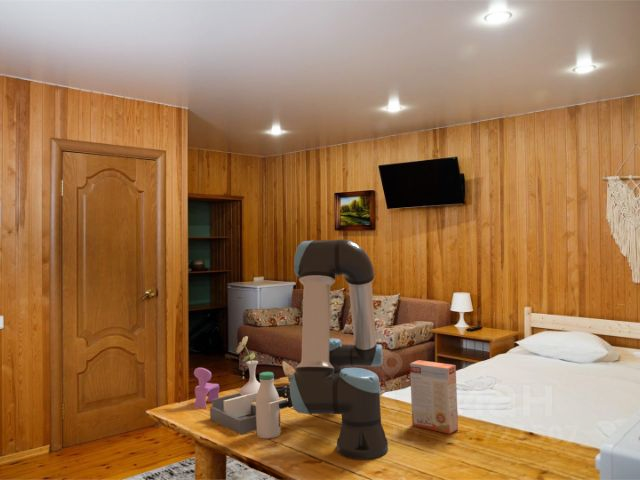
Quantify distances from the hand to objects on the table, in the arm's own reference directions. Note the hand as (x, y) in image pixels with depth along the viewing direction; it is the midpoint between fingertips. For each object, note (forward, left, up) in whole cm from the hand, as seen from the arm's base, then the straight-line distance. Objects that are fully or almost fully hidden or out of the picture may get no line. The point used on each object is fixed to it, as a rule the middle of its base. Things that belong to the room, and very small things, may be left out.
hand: (258, 403), depth 171 cm
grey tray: (+17, -4, -11) cm, 21 cm away
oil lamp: (+36, -46, -11) cm, 59 cm away
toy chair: (+44, -5, -11) cm, 46 cm away
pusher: (+19, -4, -10) cm, 22 cm away
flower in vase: (+40, -23, -11) cm, 47 cm away
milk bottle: (0, -4, -11) cm, 12 cm away
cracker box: (-34, -46, -11) cm, 58 cm away
